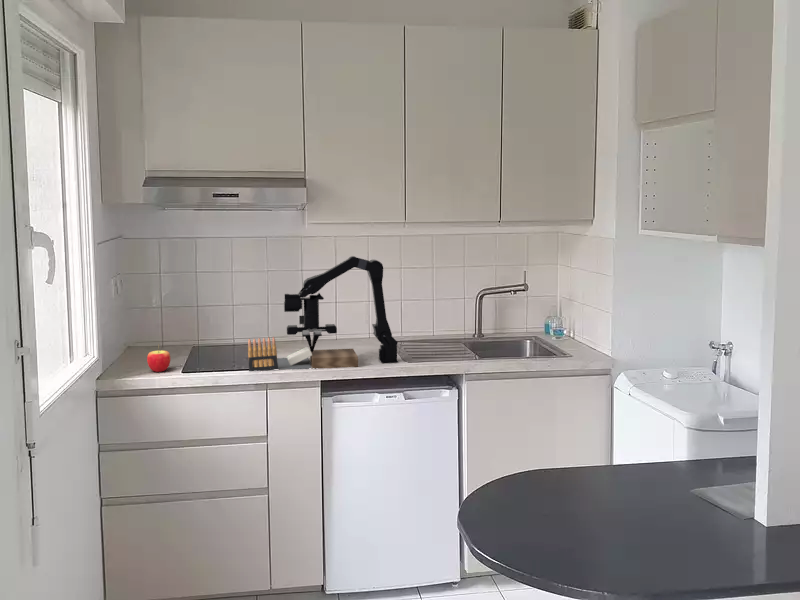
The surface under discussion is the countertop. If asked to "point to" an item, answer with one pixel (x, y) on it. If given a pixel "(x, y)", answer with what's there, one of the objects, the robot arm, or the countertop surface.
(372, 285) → the robot arm
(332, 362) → the brown flat block
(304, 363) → the mat
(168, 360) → the apple
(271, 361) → the ammunition clip
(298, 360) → the tile
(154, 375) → the countertop surface
